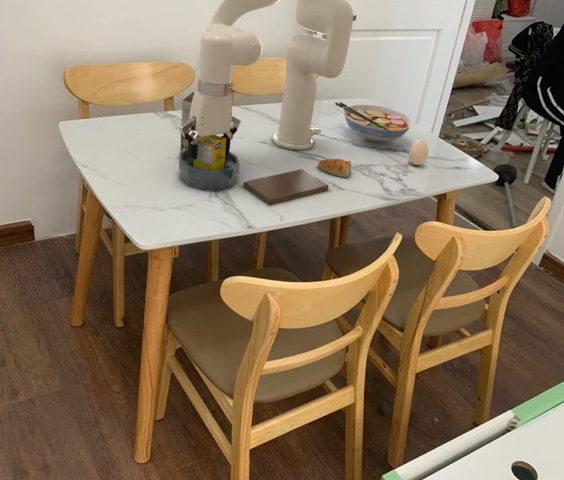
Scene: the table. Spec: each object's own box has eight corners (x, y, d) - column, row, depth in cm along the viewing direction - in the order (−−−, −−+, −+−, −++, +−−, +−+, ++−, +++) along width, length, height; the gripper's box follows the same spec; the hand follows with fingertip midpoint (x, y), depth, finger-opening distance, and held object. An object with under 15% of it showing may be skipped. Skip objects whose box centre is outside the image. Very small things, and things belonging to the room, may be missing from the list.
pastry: (315, 172, 170) (317, 159, 168) (319, 163, 176) (321, 151, 174) (348, 179, 169) (351, 166, 167) (351, 170, 175) (353, 157, 173)
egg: (413, 159, 188) (419, 135, 183) (427, 166, 185) (434, 141, 180) (403, 163, 184) (409, 138, 180) (417, 169, 181) (424, 144, 177)
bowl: (216, 162, 167) (217, 143, 164) (248, 184, 158) (250, 165, 155) (167, 171, 158) (168, 151, 155) (199, 195, 149) (200, 175, 146)
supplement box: (223, 177, 159) (227, 137, 153) (212, 185, 155) (215, 144, 149) (204, 170, 161) (206, 131, 155) (192, 178, 156) (194, 138, 150)
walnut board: (301, 173, 168) (302, 168, 167) (327, 190, 161) (328, 185, 160) (243, 186, 156) (243, 181, 155) (269, 205, 150) (269, 199, 149)
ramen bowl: (424, 148, 197) (431, 124, 192) (372, 157, 185) (378, 131, 180) (373, 121, 213) (379, 98, 208) (323, 127, 201) (327, 103, 196)
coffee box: (201, 162, 165) (205, 104, 156) (179, 158, 166) (181, 100, 157) (211, 151, 173) (215, 95, 164) (190, 146, 173) (192, 90, 164)
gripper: (234, 80, 152) (228, 145, 161) (174, 85, 142) (171, 154, 151) (252, 90, 147) (244, 156, 157) (191, 95, 137) (187, 165, 147)
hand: (208, 154), depth 154 cm, fingers open, 9 cm apart
